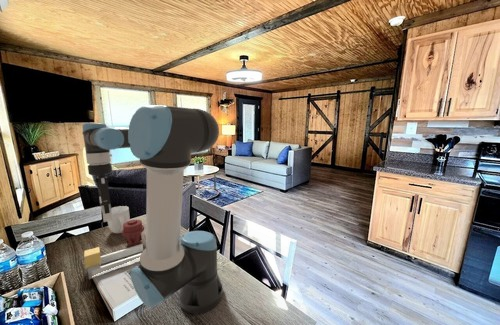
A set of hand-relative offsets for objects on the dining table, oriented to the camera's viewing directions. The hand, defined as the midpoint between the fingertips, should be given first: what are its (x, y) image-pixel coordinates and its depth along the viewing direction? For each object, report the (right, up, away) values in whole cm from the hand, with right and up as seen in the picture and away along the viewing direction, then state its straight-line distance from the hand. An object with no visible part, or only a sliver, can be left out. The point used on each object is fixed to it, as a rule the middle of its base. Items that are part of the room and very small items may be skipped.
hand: (106, 215), depth 84 cm
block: (-7, -20, +2) cm, 21 cm away
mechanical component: (-2, -21, +24) cm, 31 cm away
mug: (-17, -19, +36) cm, 44 cm away
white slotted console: (0, -23, +8) cm, 24 cm away
